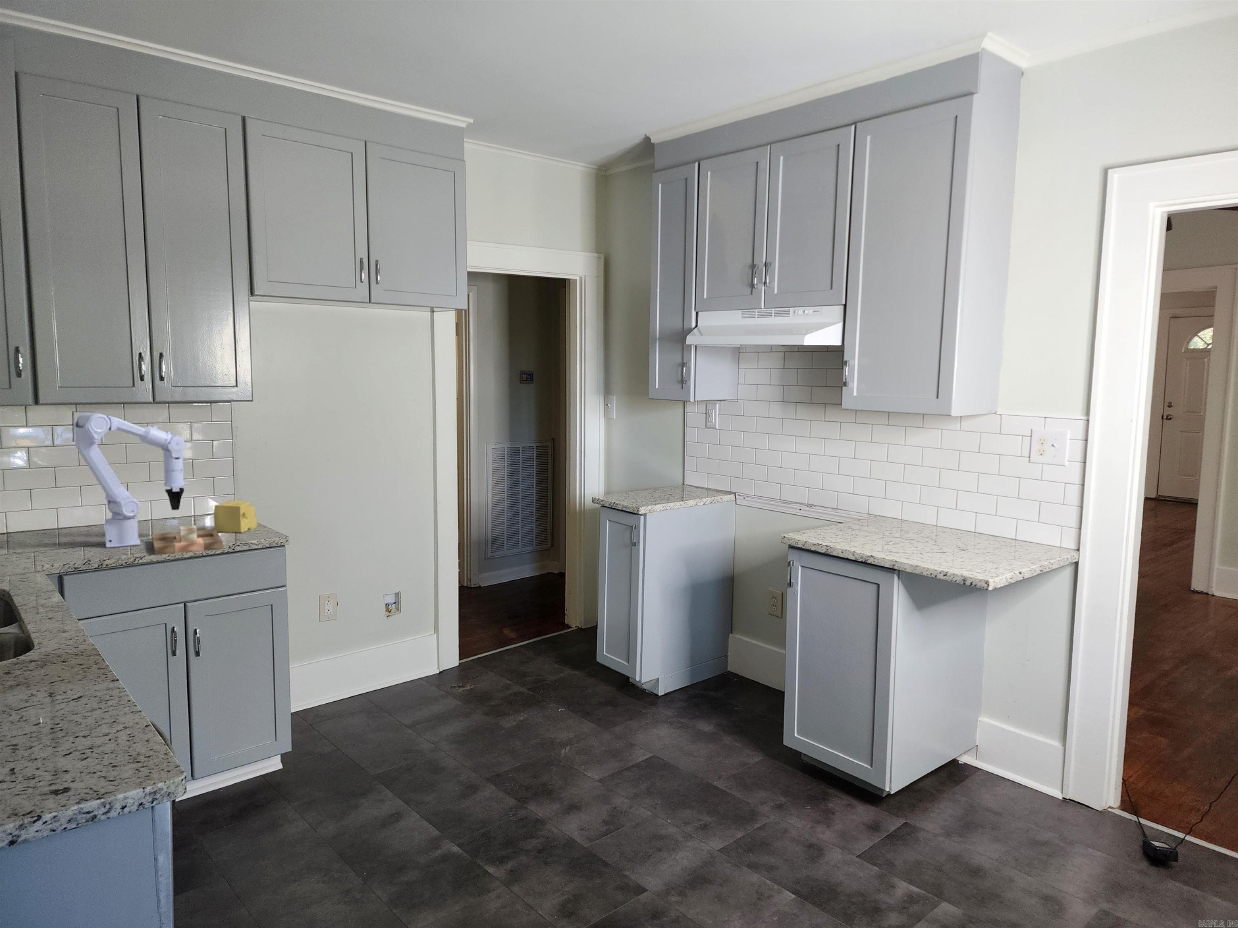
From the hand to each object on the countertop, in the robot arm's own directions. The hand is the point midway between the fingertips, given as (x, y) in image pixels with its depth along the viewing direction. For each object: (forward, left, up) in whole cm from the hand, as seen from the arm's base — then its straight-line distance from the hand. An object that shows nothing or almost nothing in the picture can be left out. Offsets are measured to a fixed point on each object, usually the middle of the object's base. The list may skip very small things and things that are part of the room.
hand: (175, 509), depth 279 cm
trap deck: (+2, -16, -9) cm, 19 cm away
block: (+2, -22, -7) cm, 23 cm away
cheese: (+19, +4, -10) cm, 22 cm away
